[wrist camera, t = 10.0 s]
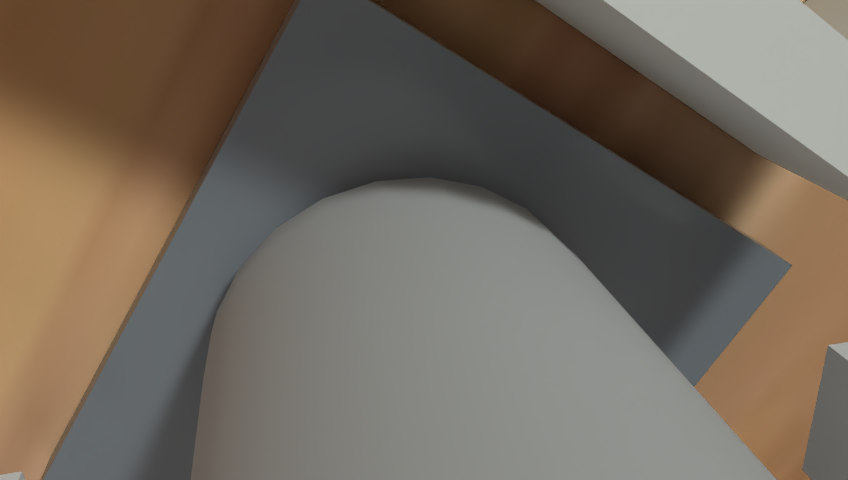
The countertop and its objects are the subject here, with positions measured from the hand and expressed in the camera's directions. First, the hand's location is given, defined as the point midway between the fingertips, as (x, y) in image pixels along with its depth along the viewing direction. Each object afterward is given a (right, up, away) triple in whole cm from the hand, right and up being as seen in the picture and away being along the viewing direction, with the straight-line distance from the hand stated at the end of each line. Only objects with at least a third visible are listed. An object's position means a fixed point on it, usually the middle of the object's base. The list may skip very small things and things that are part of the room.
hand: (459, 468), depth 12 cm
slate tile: (-1, +1, +3) cm, 4 cm away
